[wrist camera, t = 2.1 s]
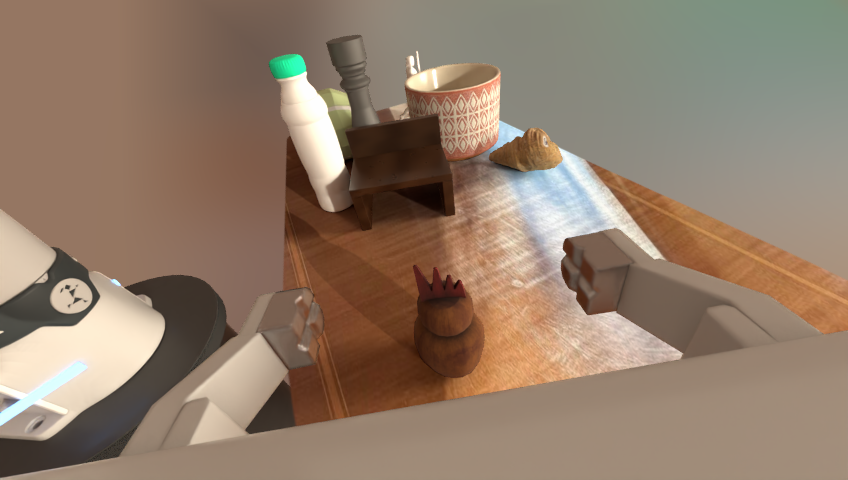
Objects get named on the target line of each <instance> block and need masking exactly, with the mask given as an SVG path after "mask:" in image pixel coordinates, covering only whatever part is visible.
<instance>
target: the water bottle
mask: <svg viewBox="0 0 848 480" xmlns="http://www.w3.org/2000/svg"><path fill="white" fill-rule="evenodd" d="M269 67H270V70H271V72H272V74H273V76H274V78H276V81H278V82H279V83H280V85H281V89H282V90H281V116H282V118H283V120H284V122H285V123H286V124H287V127H288V130H289V133H290V136H291V138H292V141H293V143H294V146H295V148H296V150H297V153H298V155H299V157H300V159H301V162H302V164H303V166H304V168H305V170H306V171H307V173H308V175H309V180H310V183H311V185H312V187H313V189H314V190H315V192H316V196H317V199H318V202H319V204H320V206H321V208H322V209H324V210H326V211H329V212H338V211H342V210H344V209H347V208H348V207H350V206H351V205H352V204H353V201H352V199H351V196H350V193H349V187H350V175H349V172H348V169H347V167H346V165H345V164H344V159H343V155H342V151H341V148H340V145H339V142H338V139H337V136H336V133H335V130H334V127H333V125H332V122H331V120H330V117H329V115H328V108H327V105H326V103H325V101H324V100H323V99H322V97H321V96H320V95H319V94H318V93H317V92H316V90H315V89H314V88H313V87H312V86H311V85H310V84H309V83H308V81H307V79H306V74H307V72H306V66H305V63H304V61H303V59H302V57H301V56H300V55H297V54H290V55H284V56H280V57H276V58H274V59H272V60H271V61H270V62H269Z"/></svg>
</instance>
